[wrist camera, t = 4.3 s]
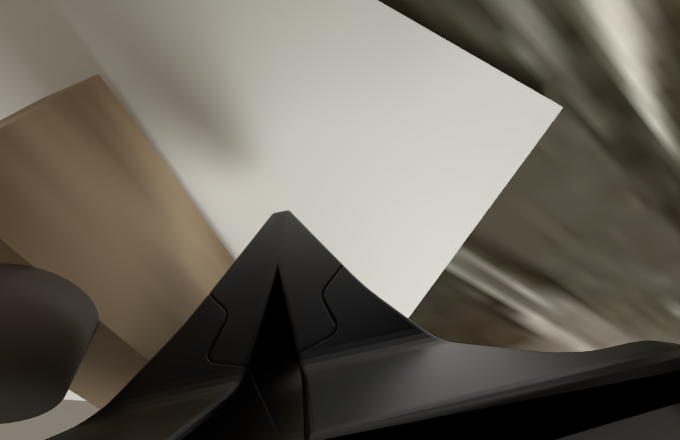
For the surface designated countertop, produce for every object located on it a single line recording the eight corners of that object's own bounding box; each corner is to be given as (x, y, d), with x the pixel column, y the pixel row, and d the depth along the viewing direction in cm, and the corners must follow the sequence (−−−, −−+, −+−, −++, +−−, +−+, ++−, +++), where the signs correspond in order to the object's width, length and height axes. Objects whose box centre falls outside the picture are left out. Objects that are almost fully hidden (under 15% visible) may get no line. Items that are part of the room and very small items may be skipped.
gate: (331, 386, 16) (363, 564, 11) (294, 400, 16) (309, 583, 11) (106, 70, 8) (-155, 218, 3) (33, 102, 8) (-345, 301, 3)
